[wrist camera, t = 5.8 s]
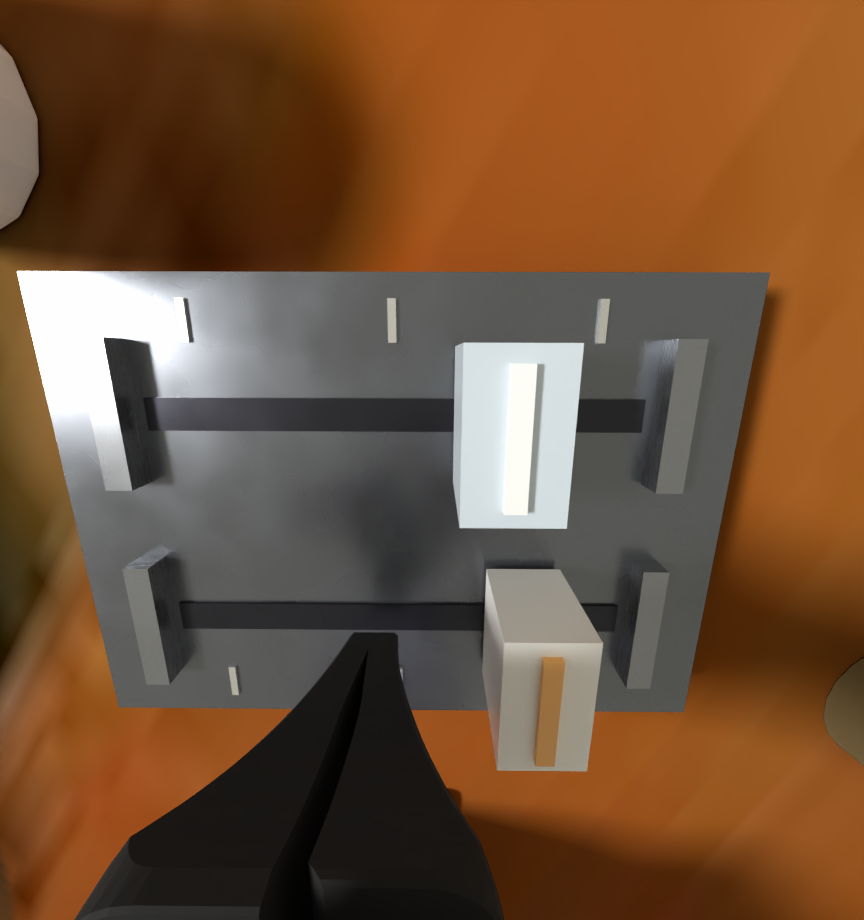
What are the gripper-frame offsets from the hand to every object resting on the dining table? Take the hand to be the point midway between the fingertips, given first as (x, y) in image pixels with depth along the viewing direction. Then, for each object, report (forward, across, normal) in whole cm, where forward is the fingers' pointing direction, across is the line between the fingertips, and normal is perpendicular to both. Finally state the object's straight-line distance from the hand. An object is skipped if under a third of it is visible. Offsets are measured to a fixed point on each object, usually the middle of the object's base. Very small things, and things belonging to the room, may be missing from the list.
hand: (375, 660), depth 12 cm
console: (+4, 0, -4) cm, 5 cm away
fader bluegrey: (+2, -4, -7) cm, 8 cm away
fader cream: (+2, -5, 0) cm, 5 cm away
